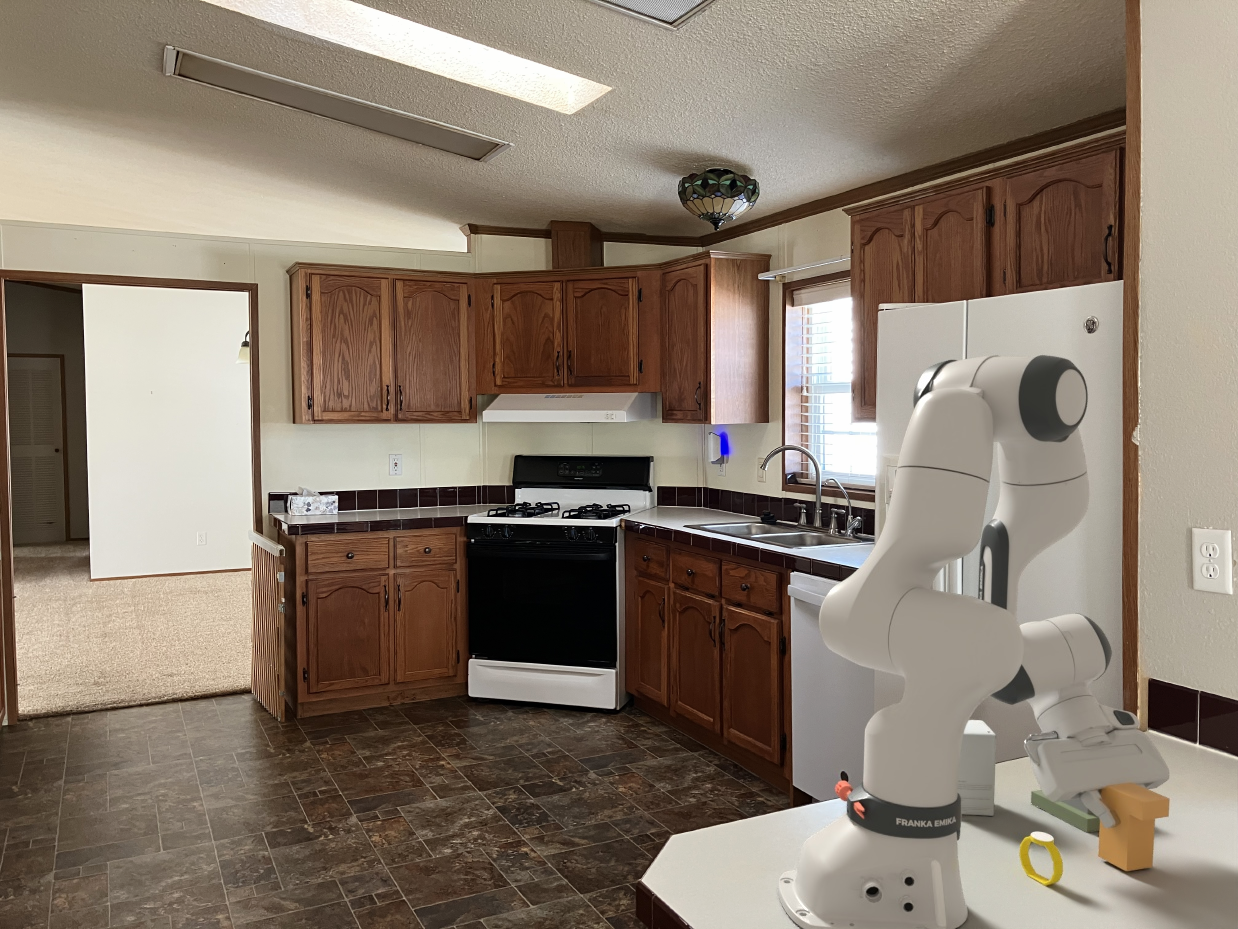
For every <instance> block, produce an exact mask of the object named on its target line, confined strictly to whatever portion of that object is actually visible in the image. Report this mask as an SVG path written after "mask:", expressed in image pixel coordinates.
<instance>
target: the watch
mask: <svg viewBox="0 0 1238 929" xmlns="http://www.w3.org/2000/svg"><path fill="white" fill-rule="evenodd" d="M1054 840H1055V839H1054V836H1052V835H1051V834H1049V833H1048V832H1044V831H1043V832H1042V831H1032V832H1031V833H1030V835H1029V836H1026V837H1024V838H1023V840H1022V841H1021V843H1020V845H1019V852H1018V853H1019V859H1020V864H1021V866H1022V867H1021V868H1022V869H1023V870H1024V872H1025V874H1026V875H1027V876H1028V877H1029V878H1031V879H1033V880H1035V881H1036V882H1038V883H1039V884H1042V886H1045V887H1046V886H1051V885H1054V884H1056V883H1059V881H1060V880H1061V879H1062V876H1063V875H1064V874H1063V872H1064V862H1063V858H1062V856H1061V853H1060V850H1059V849H1058V847H1057V846H1056V845H1055V844H1054V842H1055V841H1054ZM1031 843H1034V844H1036V845H1037V846H1042V847H1045V848H1046V850H1047V851H1048V853H1049V855H1050V858H1051V860H1052V864H1053V865H1052V866H1053V868H1052V869H1053V871H1052V872H1053V873H1052V875H1051V878H1050V879H1048V878H1046V877H1044V876H1043V875H1041V874H1039V873H1037V872H1036V870H1035V869H1034V867H1033V865H1032V864H1031V860H1030V855H1029V853H1030V852H1029V850H1030V844H1031Z"/></svg>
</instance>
